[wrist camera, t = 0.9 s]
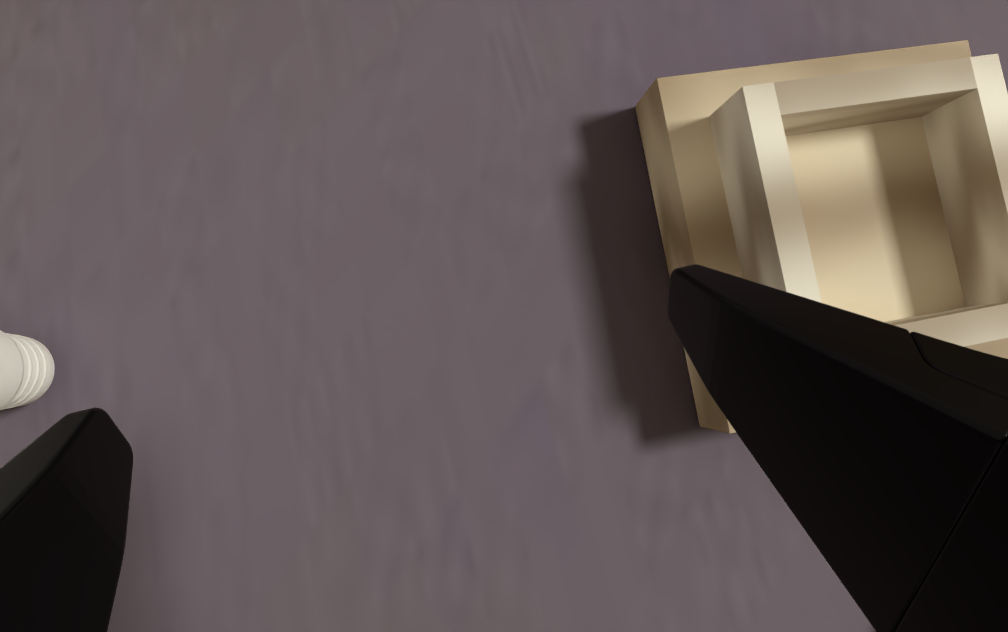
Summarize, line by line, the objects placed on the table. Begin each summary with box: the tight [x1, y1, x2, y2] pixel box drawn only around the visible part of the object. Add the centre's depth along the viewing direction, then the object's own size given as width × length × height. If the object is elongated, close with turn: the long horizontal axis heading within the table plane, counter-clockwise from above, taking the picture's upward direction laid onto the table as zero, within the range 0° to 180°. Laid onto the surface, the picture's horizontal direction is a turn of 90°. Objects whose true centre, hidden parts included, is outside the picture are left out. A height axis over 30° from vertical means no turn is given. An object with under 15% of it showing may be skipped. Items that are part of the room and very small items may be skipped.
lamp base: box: [635, 40, 1008, 433], centre depth 23 cm, size 14×14×5 cm
